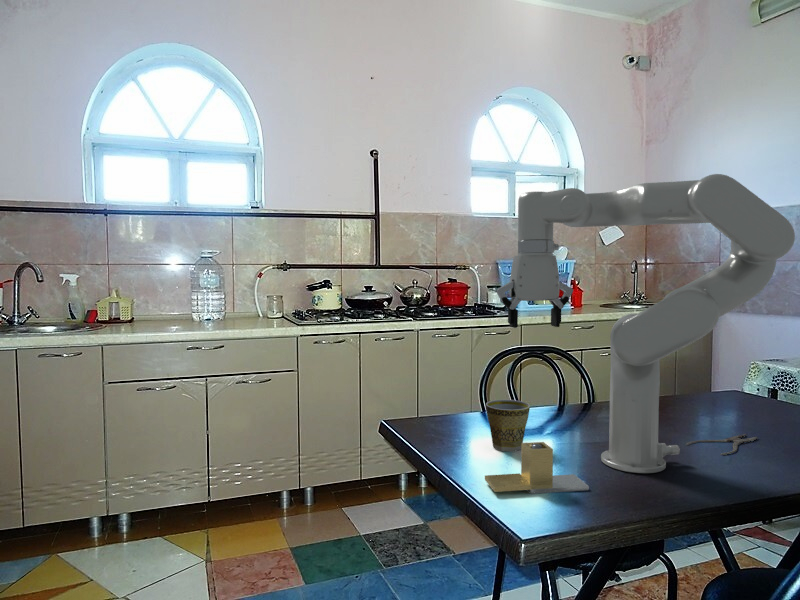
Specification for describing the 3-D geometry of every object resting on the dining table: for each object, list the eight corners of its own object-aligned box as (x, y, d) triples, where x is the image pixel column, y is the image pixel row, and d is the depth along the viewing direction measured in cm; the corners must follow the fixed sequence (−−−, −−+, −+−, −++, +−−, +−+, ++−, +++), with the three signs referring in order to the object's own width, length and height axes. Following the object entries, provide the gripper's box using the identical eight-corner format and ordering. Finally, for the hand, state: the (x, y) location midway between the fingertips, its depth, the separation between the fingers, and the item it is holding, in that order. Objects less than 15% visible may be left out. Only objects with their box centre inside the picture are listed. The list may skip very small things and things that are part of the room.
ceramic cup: (530, 455, 124) (531, 410, 123) (484, 453, 125) (485, 408, 125) (527, 438, 136) (528, 397, 136) (486, 436, 138) (486, 396, 138)
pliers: (681, 444, 129) (715, 428, 142) (681, 448, 130) (715, 431, 143) (727, 454, 122) (759, 436, 135) (727, 458, 122) (759, 440, 135)
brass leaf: (541, 476, 109) (541, 440, 109) (554, 488, 103) (554, 450, 103) (484, 479, 107) (484, 443, 107) (494, 491, 101) (494, 453, 101)
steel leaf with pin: (574, 478, 110) (574, 438, 110) (588, 490, 104) (589, 447, 104) (518, 481, 108) (519, 440, 108) (530, 493, 102) (530, 450, 102)
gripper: (565, 249, 128) (564, 324, 129) (492, 249, 125) (491, 325, 126) (580, 248, 121) (579, 327, 122) (502, 248, 118) (502, 329, 119)
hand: (534, 326), depth 124 cm, fingers open, 9 cm apart
